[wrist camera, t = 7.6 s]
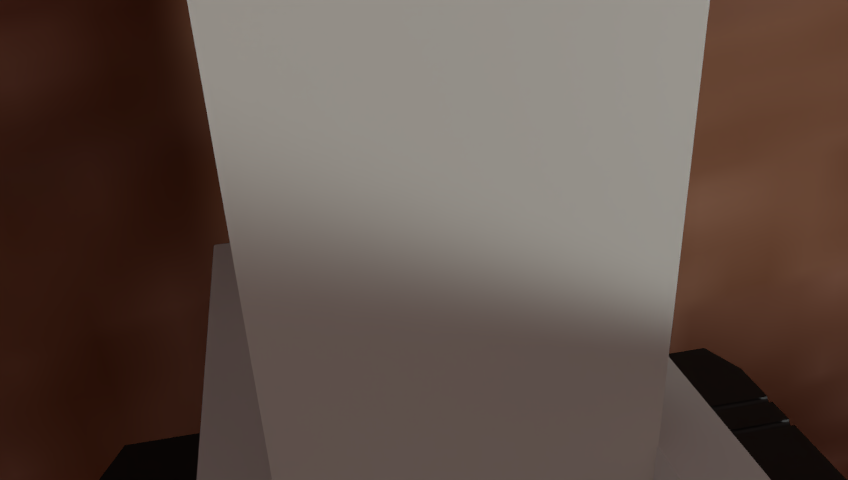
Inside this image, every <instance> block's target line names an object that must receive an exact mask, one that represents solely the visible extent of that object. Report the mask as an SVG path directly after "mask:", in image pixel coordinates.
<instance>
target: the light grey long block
mask: <svg viewBox="0 0 848 480" xmlns="http://www.w3.org/2000/svg"><path fill="white" fill-rule="evenodd" d="M709 3H710V0H187V4H188V9H189V15H190V21H191V26H192V32H193V37H194V43H195V49H196V54H197V60H198V66H199V71H200V77H201V82H202V88H203V94H204V99H205V105H206V111H207V116H208V122H209V127H210V133H211V139H212V144H213V150H214V156H215V161H216V167H217V172H218V178H219V184H220V189H221V195H222V201H223V206H224V212H225V217H226V223H227V229H228V234H229V240H230V246H231V251H232V257H233V263H234V268H235V274H236V279H237V285H238V291H239V296H240V302H241V308H242V313H243V319H244V324H245V330H246V336H247V341H248V347H249V353H250V358H251V364H252V369H253V375H254V381H255V386H256V392H257V398H258V403H259V409H260V414H261V420H262V426H263V431H264V437H265V443H266V448H267V454H268V460H269V465H270V471H271V476H272V480H653V477H654V469H655V460H656V452H657V446H658V444H659V435H660V427H661V418H662V409H663V401H664V392H665V383H666V375H667V366H668V358H669V349H670V340H671V332H672V323H673V314H674V306H675V297H676V288H677V280H678V271H679V262H680V254H681V245H682V236H683V228H684V219H685V210H686V202H687V193H688V184H689V176H690V167H691V158H692V150H693V141H694V132H695V124H696V115H697V106H698V98H699V89H700V80H701V72H702V63H703V55H704V46H705V37H706V29H707V20H708V11H709Z"/></svg>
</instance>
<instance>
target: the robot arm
mask: <svg viewBox="0 0 848 480" xmlns="http://www.w3.org/2000/svg"><path fill="white" fill-rule="evenodd" d="M99 480H272V476H271V471H270V465H269V460H268V454H267V448H266V443H265V437H264V431H263V426H262V420H261V414H260V409H259V403H258V398H257V392H256V386H255V381H254V375H253V369H252V364H251V358H250V353H249V347H248V341H247V336H246V330H245V324H244V319H243V313H242V308H241V302H240V296H239V291H238V285H237V279H236V274H235V268H234V263H233V257H232V251H231V246H230V243H225V244H217V245H214V250H213V264H212V277H211V291H210V305H209V318H208V332H207V345H206V359H205V372H204V386H203V399H202V413H201V427H200V433H198V434H192V435H186V436H179V437H173V438H167V439H161V440H155V441H149V442H143V443H137V444H131V445H125V446H124V447H123V449H122V450H121V451H120V453H119V454H118V455H117V457H116V458H115V459H114V461H113V462H112V463H111V465H110V466H109V467H108V469H107V470H106V471H105V473H104V474H103V475H102V477H101V478H100V479H99ZM653 480H846V479H845V478H844V477H843V476H842V475H841V474H840V472H839V471H838V470H837V469H836V468H835V467H834V466H833V465H832V464H831V463H830V462H829V461H828V460H827V459H826V458H825V457H824V456H823V455H822V454H821V452H820V451H819V450H818V449H817V448H816V447H815V446H814V445H813V444H812V443H811V442H810V441H809V440H808V439H807V438H806V437H805V436H804V435H803V434H802V432H801V431H800V430H799V429H798V428H797V427H796V426H795V425H793V426H791V425H790V423H789V419H788V418H787V417H786V416H785V415H784V414H783V412H782V411H781V410H780V409H779V408H778V407H777V406H776V405H775V404H774V403H773V402H768V399H767V396H766V395H765V394H764V392H763V391H762V390H761V389H760V388H759V387H758V386H757V385H756V384H755V383H754V382H753V381H752V380H751V379H750V378H749V377H748V376H747V375H746V373H745V372H744V371H743V370H742V369H740V368H739V367H737V366H735V365H733V364H731V363H730V362H728V361H726V360H724V359H723V358H721V357H719V356H717V355H715V354H714V353H712V352H710V351H708V350H707V349H705V348H702V349H696V350H690V351H684V352H678V353H671V354H669V358H668V366H667V375H666V383H665V392H664V401H663V409H662V418H661V427H660V435H659V444H658V446H657V452H656V460H655V469H654V477H653Z"/></svg>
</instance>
